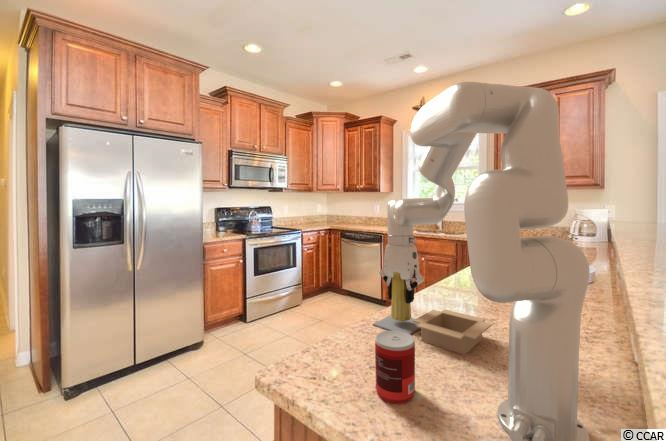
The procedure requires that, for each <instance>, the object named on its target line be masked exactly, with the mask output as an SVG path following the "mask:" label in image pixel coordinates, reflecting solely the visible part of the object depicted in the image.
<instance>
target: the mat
mask: <svg viewBox="0 0 666 441" xmlns="http://www.w3.org/2000/svg"><path fill="white" fill-rule="evenodd" d="M415 319H416V318H413V317H411V319H410V320H407V321H398V320H394V319H392V318H391V315H388V316H387V317H384V318H382V319H381V320H378V321H376V322H374V323H372V327H376V328H380V329H383V330H384V331H389V330H396V331H402V332H405V333H408V334H410V335H411V336H412V335H413V334H414V333H416V332H418V331H419V330H420V331H421V328H418V327H416V325H418V324H419V323H415V322H413V320H415Z"/></svg>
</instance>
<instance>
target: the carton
mask: <svg viewBox="0 0 666 441" xmlns="http://www.w3.org/2000/svg"><path fill="white" fill-rule="evenodd" d="M414 319H415V320H413V322H415V323H419V324H418V325H416V327H418V328H421V329H420V331H421V335H420V336H421V337H420V338H421V339H420V340H421V342H424V343H427V344H429V345H433V346H436V347H439V348H442V349H445V350H448V351H451V352H455V353H456V354H460V355H464V356H465V355H466V354H467V353H469V351H471V350H472V349H473V348H474V347H476V346H477V344H479V343H480V342H481V341H482V340H483V334H484V333H485V332H486V331H487V330H489V329H490V328H491V327H492V326H493V323H489V322H486V318H483V317H479V316H474V315H471V314H467V313H462V312H457V311H453V310H449V309H444V310H441V311H440V310H437V309H432V310H429V311H428V312H425V314H422V315H420V316H419V317H417V318H414Z"/></svg>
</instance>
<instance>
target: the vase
mask: <svg viewBox="0 0 666 441" xmlns="http://www.w3.org/2000/svg"><path fill="white" fill-rule="evenodd" d="M406 290H408V289H407V285H406V282H405V280H403V279H401V277H400V273H397V272H393V277H392V299H391V304H390V305H391V306H390V307H391V310H390V316H391V318H392V319H394V320H398V321H407V320H410V319H411V318H412V308H411V307H412V306H411V303H412V302H411V303H409V304H408V303H406Z"/></svg>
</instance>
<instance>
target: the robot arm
mask: <svg viewBox="0 0 666 441" xmlns="http://www.w3.org/2000/svg"><path fill="white" fill-rule="evenodd" d="M477 134H499V135H500V134H501V135H502V134H505V135H504V138H503V141H502V143H501V147H500V160H501V168H502V169H490V170H487V171H483V172H482V173H480V174H478V175H477V176H476V177H475V178H474V179H472V181H471V183H469V186H468V188H467V190H466V193H465V197H464V204H463V207H464V208H463V212H464V222H465V231H466V242H467V249H468V250H467V251H468V259H469V260H468V261H469V267H470V268H469V269H470V274H471V278H472V281H473V283H474V285H475V288H476V289H477V291H478V292H479V293H480V294H481V295H482V296H483V297H484V298H485V299H487V300H488V301H491V302H493V303H498V304H511V303H513V304H512V306H511V309H510V312H509V313H510V314H509V320H508V322H509V324H508V325H509V326H508V365H507V366H508V370H507V371H508V373H507V374H508V375H507V376H508V378H507V381H508V382H507V399H504V400H503V401H502V402H501V403H500V404H499V405H498V407H497V418H498V422H499V423H500V425H501V427H502V428H503V430H505V432H506V433H507V434H508V437H509V439H510V440H511V441H590V434H589V431H588V430H587V428H586V427H585V426H584V424H583V423H581V421H580V420H578V404H579V403H578V401H579V399H578V398H579V397H578V396H579V371H580V370H579V368H580V367H579V366H580V364H579V362H580V360H579V359H580V343H581V321H582V311H583V307H584V301H585V298H586V294H587V290H588V286H589V282H590V275H591V274H590V271H591V270H590V264H589V260H588V258H587V257H586V254H585V253H584V252H583V250H582V249H581V248H580V247H579V246H578V245H576V244H575V243H573V242H572V241H570V240H567V239H564V238H563V237H558V236H557V237H556V236H530V237H529V236H527V237H521V230H531V229H532V230H534V229H542V228H548V227H552V226H555V225H557V224H559V223H561V222H562V221H563V219H564V218H565V217H566V216H567V214H568V211H569V195H568V192H569V191H568V186H567V179H566V172H565V164H564V157H563V151H562V146H561V140H560V139H561V138H560V111H559V106H558V102H557V100H556V98H555V97H554V95H553V94H552V92H549V91H548V89H547V90H546V89H544V88H541V87H535V86H534V87H533V86H524V85H523V86H522V85H521V86H520V85H510V84H509V85H508V84H501V83H500V84H499V83H487V82H480V81H479V82H478V81H461V82H457V83H455V84H453V85H451V86H448V87H447V88H446V89H445V90H443V91H442V92H440V93H438V94H437V95H436V96H435V97H432V98H431V99H430V100H429V101H427V102H426V103H424V104H423V105H422V107H420V109H418V110H417V112H416V113H415V115H414V117H413V119H412V120H411V124H410V138H411V140H412V142H413V143H414V144H415V145H417V146H419V147H426V148H425V150H424V152H423V154H422V156H421V159H420V160H419V163H418V171H419V172H420V174H421V176H422V177H424V178H425V179H426V180H428V181H429V182H431V183H433V184H435V185H437V188H436V191H434V194H433V196H432V197H426V198H425V197H417V198H416V197H415V198H400V199H390V200H389V201H388V202H387V208H386V209H387V214H386V216H387V218H386V219H387V221H386V222H387V223H386V224H387V225H386V226H387V244H385V248H384V249H385V250H384V257H383V267H382V268H381V269H380V271H379V273H378V274H379V275H380V276H381V277H382V279H383V281H384V282H385V285H386V286H387V296H388V300H392V277H393V272H397V273H400V277H401V279H403V280H405V282H406V285H407V289H408V290H406V303H408V304H409V303H413V302H414V299H415V289H416V288H417V287H418V286H419V285H420V284H422V283H423V282H424V281H425V277H423V275H422V274H421V272H420V263H419V262H420V261H419V255H418V249H417V246H416V245H414V244H416V243H418V242H417V241H418V240H417V238H415V237H414V226H415V227H416V226H417V227H418V226H434V225H438V224H439V223H441V222H442V221H443V220H444V219H445V217H446V216H447V215H448V213H449V212H450V210H451V208H453V204H454V203H455V199H456V198H455V197H456V186H455V183H454V180H453V176H454V174H455V173H456V171H457V169H458V167H459V166H460V163H461V162H462V161H463V158H464V157H465V155H466V153H468V152H467V151H468V150H469V148H470V146H471V144H472V143H473V141H474V140H475V138H476V135H477ZM415 279H416V280H415Z"/></svg>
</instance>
